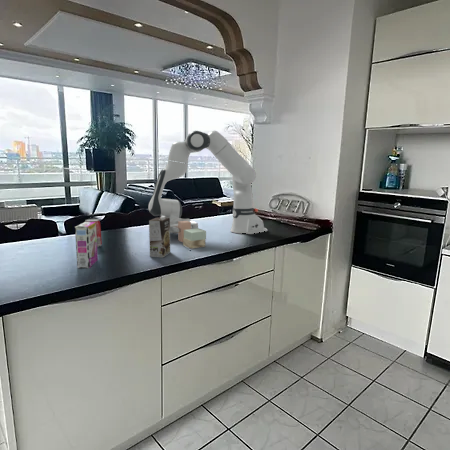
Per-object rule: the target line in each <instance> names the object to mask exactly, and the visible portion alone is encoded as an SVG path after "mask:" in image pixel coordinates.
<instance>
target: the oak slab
mask: <svg viewBox="0 0 450 450" xmlns="http://www.w3.org/2000/svg"><path fill="white" fill-rule="evenodd" d="M182 243H183V244H182V245H183V246H184V247H186V248H188V249H198V248H205V247H206V239H203V240H195V241H190V240H188V239H186V238H183V242H182Z"/></svg>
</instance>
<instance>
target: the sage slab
mask: <svg viewBox="0 0 450 450" xmlns="http://www.w3.org/2000/svg"><path fill="white" fill-rule="evenodd" d="M184 238H186V239H188V240H190V241H195V240H203V239H205V240H207V230H204V229H201V228H199V227H198V228H196V229H187V230H184Z"/></svg>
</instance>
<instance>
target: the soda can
mask: <svg viewBox="0 0 450 450" xmlns="http://www.w3.org/2000/svg"><path fill="white" fill-rule="evenodd" d="M84 222H96V233H97V248H100V247H101V246H102V244H103V242H102V229H101V228H102V225H101V221H100V219H99V218H88V219H85V221H84ZM99 246H100V247H99Z"/></svg>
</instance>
